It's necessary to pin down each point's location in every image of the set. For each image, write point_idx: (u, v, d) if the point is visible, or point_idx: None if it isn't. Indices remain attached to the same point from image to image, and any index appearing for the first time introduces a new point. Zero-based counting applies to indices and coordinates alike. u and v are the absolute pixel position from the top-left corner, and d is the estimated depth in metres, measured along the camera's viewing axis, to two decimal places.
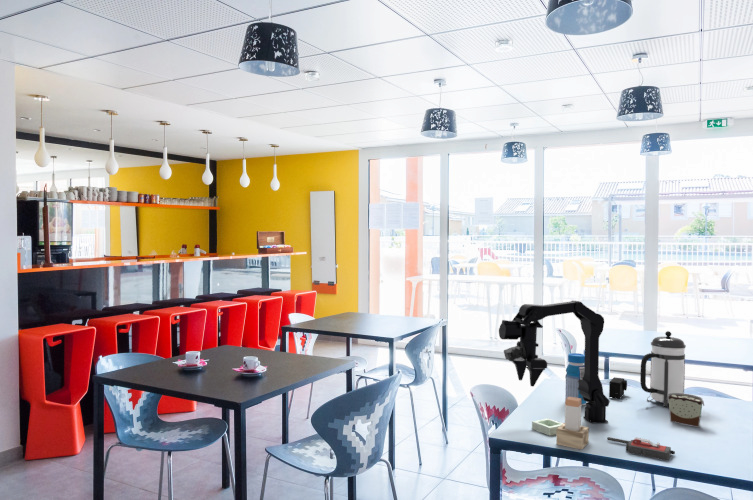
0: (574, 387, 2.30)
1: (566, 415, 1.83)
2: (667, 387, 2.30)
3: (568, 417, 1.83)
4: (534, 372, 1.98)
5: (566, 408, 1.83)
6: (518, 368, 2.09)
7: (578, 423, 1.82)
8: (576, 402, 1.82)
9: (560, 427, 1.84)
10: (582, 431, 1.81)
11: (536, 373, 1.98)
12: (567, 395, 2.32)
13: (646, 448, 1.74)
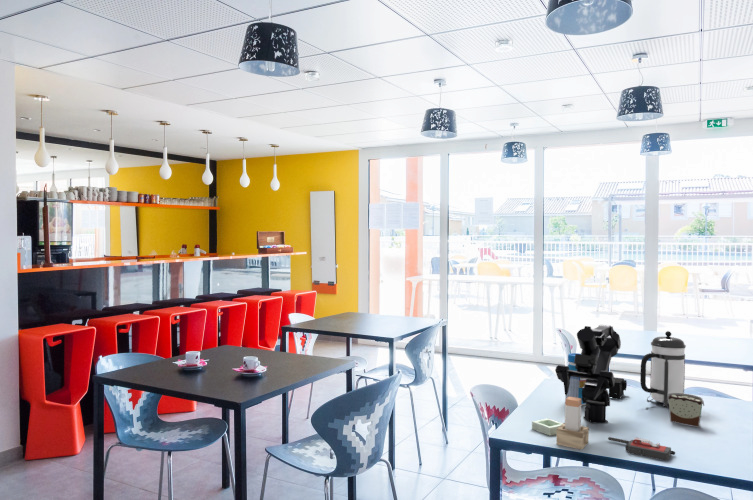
0: (574, 387, 2.30)
1: (566, 415, 1.83)
2: (667, 387, 2.30)
3: (568, 417, 1.83)
4: None
5: (566, 408, 1.83)
6: (567, 382, 1.95)
7: (578, 423, 1.82)
8: (576, 402, 1.82)
9: (560, 427, 1.84)
10: (582, 431, 1.81)
11: (600, 388, 1.91)
12: (567, 395, 2.32)
13: (646, 448, 1.74)
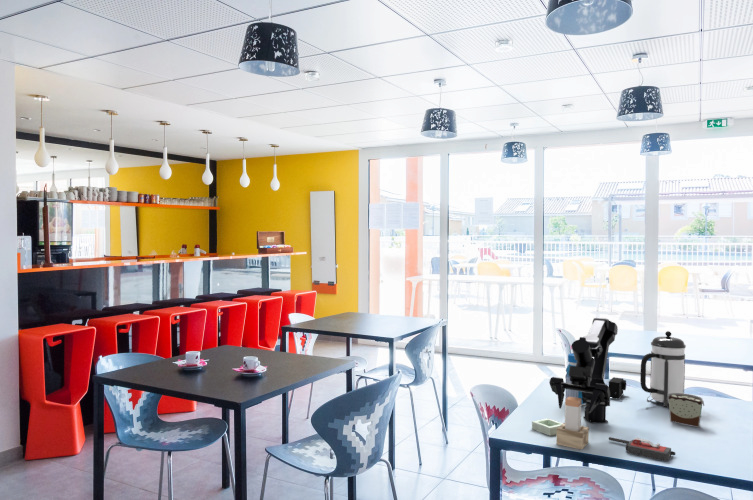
0: None
1: (566, 415, 1.83)
2: (667, 387, 2.30)
3: (568, 417, 1.83)
4: (595, 399, 1.85)
5: (566, 408, 1.83)
6: (561, 395, 1.90)
7: (578, 423, 1.82)
8: (576, 402, 1.82)
9: (560, 427, 1.84)
10: (582, 431, 1.81)
11: (596, 402, 1.85)
12: (567, 395, 2.32)
13: (645, 448, 1.74)
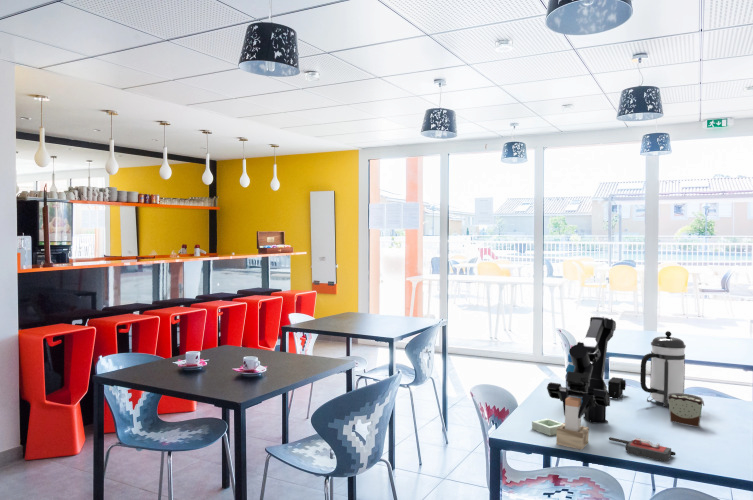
0: None
1: (566, 415, 1.83)
2: (667, 387, 2.30)
3: (568, 417, 1.83)
4: (585, 404, 1.84)
5: (566, 408, 1.83)
6: None
7: (578, 423, 1.82)
8: (576, 402, 1.82)
9: (560, 427, 1.84)
10: (582, 431, 1.81)
11: (586, 406, 1.84)
12: None
13: (645, 449, 1.73)
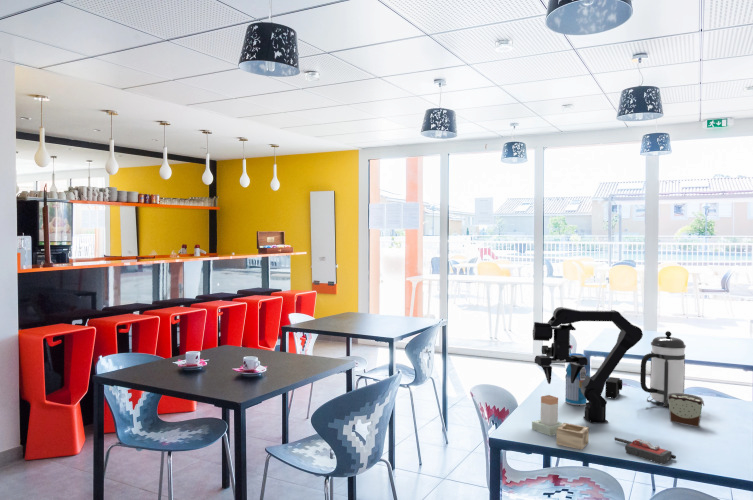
0: (574, 387, 2.30)
1: (541, 412, 1.97)
2: (667, 387, 2.30)
3: (543, 413, 1.97)
4: (546, 369, 2.11)
5: (541, 405, 1.97)
6: (571, 371, 2.13)
7: (551, 420, 1.95)
8: (548, 400, 1.95)
9: (560, 427, 1.84)
10: (582, 431, 1.81)
11: (547, 371, 2.10)
12: (567, 395, 2.32)
13: (643, 450, 1.72)
